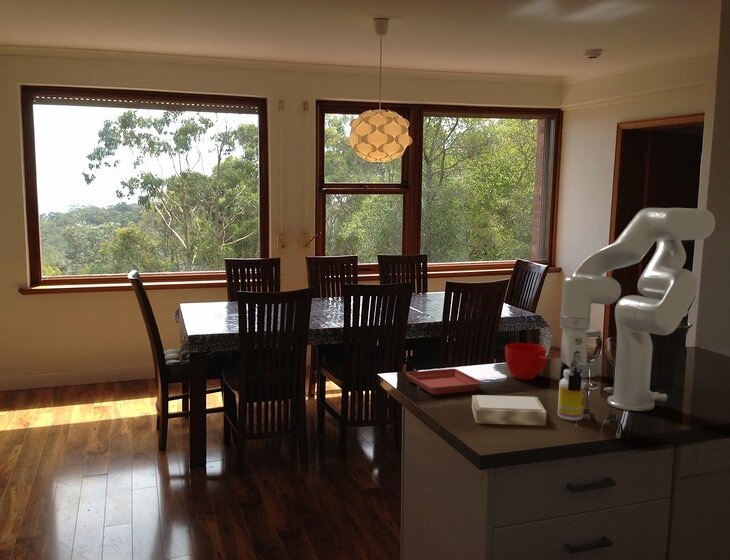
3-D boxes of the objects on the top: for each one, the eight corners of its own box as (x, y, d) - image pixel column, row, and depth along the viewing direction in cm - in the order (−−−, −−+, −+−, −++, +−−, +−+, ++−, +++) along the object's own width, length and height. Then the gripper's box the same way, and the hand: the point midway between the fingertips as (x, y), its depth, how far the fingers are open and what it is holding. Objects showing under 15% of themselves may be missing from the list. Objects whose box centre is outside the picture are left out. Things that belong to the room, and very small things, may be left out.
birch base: (536, 409, 192) (537, 395, 191) (545, 425, 179) (546, 410, 178) (471, 407, 193) (472, 393, 192) (476, 423, 180) (476, 408, 179)
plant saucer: (454, 377, 225) (455, 367, 225) (483, 392, 209) (484, 382, 208) (404, 382, 219) (404, 372, 218) (430, 398, 202) (430, 387, 202)
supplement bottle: (584, 422, 182) (587, 375, 180) (558, 420, 183) (560, 373, 182) (581, 414, 188) (584, 368, 187) (556, 412, 190) (559, 367, 188)
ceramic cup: (527, 387, 213) (529, 356, 212) (496, 373, 229) (497, 344, 227) (560, 383, 219) (562, 352, 217) (528, 370, 234) (529, 341, 233)
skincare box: (564, 372, 231) (567, 326, 229) (580, 370, 235) (582, 325, 233) (583, 379, 224) (586, 331, 222) (599, 376, 227) (602, 329, 225)
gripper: (598, 329, 173) (592, 395, 175) (581, 318, 191) (576, 378, 193) (567, 328, 174) (562, 393, 176) (553, 316, 191) (549, 376, 193)
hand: (569, 385), depth 184 cm, fingers open, 9 cm apart
